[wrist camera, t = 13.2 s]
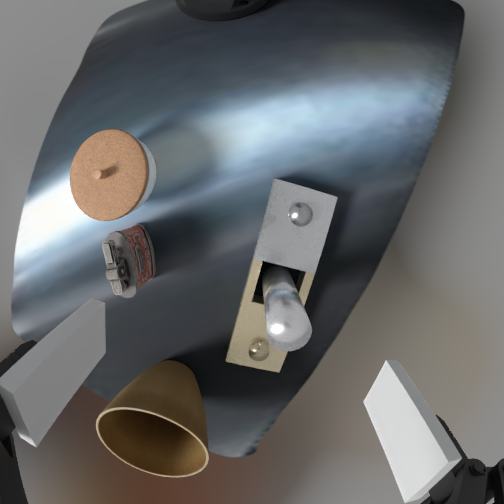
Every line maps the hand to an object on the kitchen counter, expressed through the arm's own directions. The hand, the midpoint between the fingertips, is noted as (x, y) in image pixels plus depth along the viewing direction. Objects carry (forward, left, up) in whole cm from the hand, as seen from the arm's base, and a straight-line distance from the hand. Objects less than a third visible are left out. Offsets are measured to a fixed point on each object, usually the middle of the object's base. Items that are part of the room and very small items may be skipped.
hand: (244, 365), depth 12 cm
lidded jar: (-5, -18, -27) cm, 33 cm away
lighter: (+5, -14, -27) cm, 31 cm away
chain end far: (+9, +5, -27) cm, 29 cm away
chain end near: (-1, +5, -27) cm, 27 cm away
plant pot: (+25, -6, -27) cm, 37 cm away
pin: (+4, +5, -27) cm, 28 cm away
